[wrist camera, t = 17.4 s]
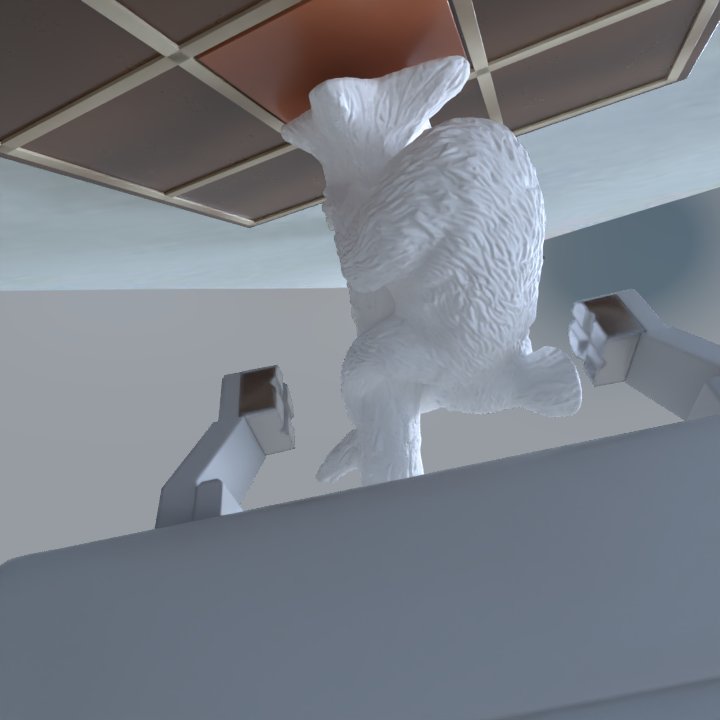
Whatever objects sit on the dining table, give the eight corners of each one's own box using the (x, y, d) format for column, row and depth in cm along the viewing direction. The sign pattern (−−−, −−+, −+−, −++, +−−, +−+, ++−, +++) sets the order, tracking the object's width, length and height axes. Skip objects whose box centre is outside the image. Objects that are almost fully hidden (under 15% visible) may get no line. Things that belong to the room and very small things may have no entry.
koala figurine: (275, 144, 18) (337, 460, 20) (177, 83, 11) (285, 561, 13) (522, 85, 16) (561, 437, 18) (575, -26, 10) (625, 539, 12)
